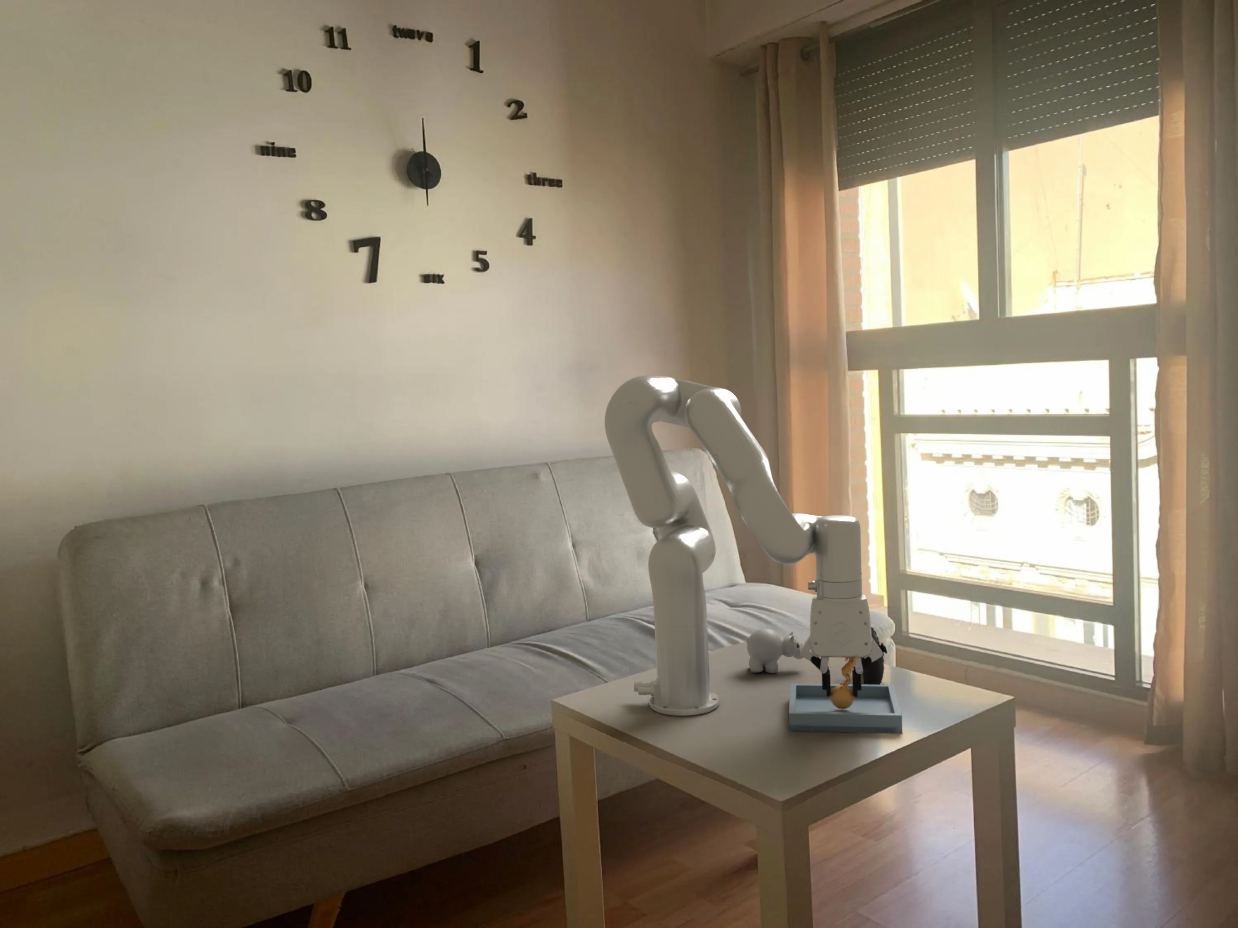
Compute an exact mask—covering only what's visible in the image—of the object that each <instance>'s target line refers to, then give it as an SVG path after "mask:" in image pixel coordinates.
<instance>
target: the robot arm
mask: <svg viewBox="0 0 1238 928" xmlns="http://www.w3.org/2000/svg"><path fill="white" fill-rule="evenodd" d="M659 422H662V423H666V424H672V425H676V426H680V427H683V428H684V427H685V428H689V430H690V432H691V433H692V435H693V436H694V438H695V439H696V440H697V442H698V443H699V445H700V447H701V448H702V449H703V451H704V452H705V454H706V455H707V457H708V458H709V459H710V461H711V463H712V464H713V465H714V467H715V469H716V470H717V472H718V473H719V475H720V476H721V477H722V479H723V480H724V482H725V483H726V486H727V488H728V492H729V494H730V495H731V498H732V500H733V502H734V504H735V506H736V508H737V510H738V512H739V514H740V516H741V518H742V520H743V522H744V523H745V525H746V526H747V528H748V530H749V531H750V533H751V534H752V536H753V537H754V539H755V540H756V541H757V542H758V544H759V546H760V547H761V549H762V550H763V551H764V552H765V554H766V555H767V556H768V557H769V558H771V560H773V561H774V562H776V563H779V564H781V565H785V566H786V565H787V566H789V565H795V564H798V563H800V562H801V561H802V560H804V559H805V558H806V556H809V555H815V566H816V567H815V571H816V573H815V575H816V577H815V578H816V579H814V580H813V581H809V582H808V581H807V590H808V591H814V592H815V593H816V594H815V595H813V597H812V599H811V605H810V615H809V635H808V637H807V639H806V640H805V641H806V642H805V641H804V643H803V644H802V646H803V647H802V648H801V650H800V655H801V656H802V657H804V658H803V659H805V660H808V661H809V662H810V663H811V664H813V665H814V666H815V667H816V668H817V669H818V670H819V671H820V673H821V684H822V690H826V694H827V696H831V684H832V683H831V669H830V667H829V663H830V662H829V661H830V658H840V659H841V658H853V660H854V658H855V655H858V659H857V661H856V663H855V665H854V667H853V669H852V672H851V674H852V675H851V676H852V677H851V678H852V679H851V680H852V683H851V684H852V686H853V696H855V697H858V690H860V691H861V690H862V688H861V684H862V674H863V670H865V669H866V668H867V667H868V666H869V665H870V664H871V662H873V661H875V660H877V659H879V658H880V657H882V655H883V654H882V651H881V649H880V648H879V646H878V645H877V644H876V642H875V641H874V639H873V638H872V636H871V627H872V626H871V625H872V624H871V623H872V622H871V614H870V613H871V612H870V608H869V602H868V598H867V596H866V595H864V594H863V582H862V581H863V579H862V578H863V577H862V575H863V574H862V542H861V541H862V536H861V531H862V529H861V523H860V522H859V520H858V518H856V517H855V516H851V515H845V514H844V515H839V514H838V515H837V514H836V515H825V516H820V515H812V514H807V513H806V514H805V513H800V512H797V513H795V512H793V513H792V512H791V511H790V509H789V508H788V506H787V504H786V503H785V501H784V500H783V498H782V496H781V495H780V493H779V491H778V488H777V487H776V484H775V482H774V480H773V476H772V471H771V464H770V460H769V457H768V455H767V453H766V451H765V450H764V448H763V447H762V446H761V445H760V443H759V442H758V440H757V438H756V437H755V436H754V434H753V433H752V432H751V430H750V429H749V427H748V426H747V424H746V422H745V421H744V420H743V418H742V406H741V403H740V401H739V400H738V398H737V396H736V395H734V393H733V392H731V391H730V390H728V389H725V388H722V387H716V386H711V385H706V384H701V383H697V382H694V381H693V382H692V381H689V380H684V379H681V378H680V379H678V378H676V377H671V376H666V375H639V376H635V377H632V378H630V379H628V380H627V381H625V382H623V383H622V384H621V385H620V386H619V387H618V388H617V390H615V392H614V393H613V394H612V396H611V398H610V400H609V402H608V403H607V406H606V409H605V414H604V430H605V434H606V438H607V441H608V444H609V447H610V450H611V452H612V455H613V457H614V460H615V463H616V466H617V468H618V471H619V474H620V478H621V480H622V482H623V484H624V488H625V490H626V493H627V496H628V499H629V501H630V503H631V507H632V510H633V512H634V514H635V516H636V517H637V519H638V520H637V521H639V523H641V524H643V526H645V527H648V528H650V529H651V528H652V529H658V531H659V535H660V538H658V539H657V540H656V542H655V543H654V544H653V546H652V548H651V550H650V553H649V556H648V563H647V564H648V565H647V566H648V576H649V581H650V586H651V594H652V595H651V596H652V606H653V607H652V608H653V622H654V640H655V644H654V645H655V661H656V662H655V663H656V665H655V666H656V679H651V681H644V680H643V681H641V680H640V681H639V680H636V681H634V682H633V691H634V693H638V695H639V696H646V695H649V696H650V698H649V707H650V708H651V710H653V711H655V712H657V713H659V714H663V715H668V716H677V717H678V716H680V717H681V716H683V717H685V716H687V717H688V716H696V715H702V714H706V713H709V712H712V711H714V710H715V709H717V708H718V707H719V705H720V697H719V696H718V695H717V693H715V692H713V691H711V683H710V682H711V681H710V680H711V679H710V659H709V655H710V654H709V633H708V609H707V600H706V591H705V587H704V585H705V584H704V577H703V575H704V574H703V573H705V572H706V571H707V570H709V568H710V567H711V566H712V564H713V563H714V560H715V557H716V550H717V548H716V542H715V539H714V535H713V533H712V530H711V528H710V525H709V522H708V520H707V517H706V514H705V512H704V510H703V506H702V503H701V502H700V499H699V496H698V494H697V491H696V490H695V488H694V485H692V483H691V482H690V480H689V479H688V478H687V477H686V476H684V475H683V474H681V473H679V472H676V471H672V470H671V471H670V467H669V466H668V463H667V460H666V458H665V455H664V452H663V449H662V447H661V445H660V443H659V441H658V439H657V437H656V436H655V434H654V432H653V424H654V423H659ZM871 650H872V652H871ZM861 657H863V658H862V659H861Z"/></svg>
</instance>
